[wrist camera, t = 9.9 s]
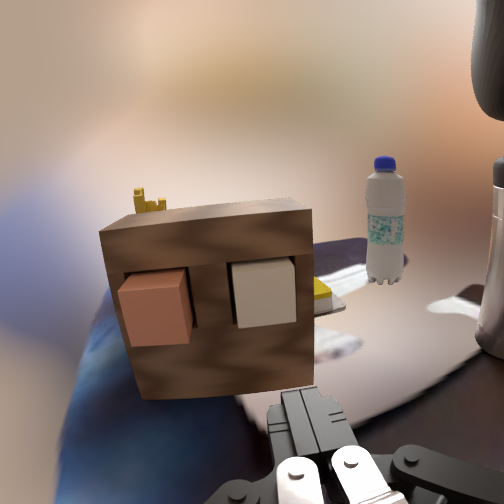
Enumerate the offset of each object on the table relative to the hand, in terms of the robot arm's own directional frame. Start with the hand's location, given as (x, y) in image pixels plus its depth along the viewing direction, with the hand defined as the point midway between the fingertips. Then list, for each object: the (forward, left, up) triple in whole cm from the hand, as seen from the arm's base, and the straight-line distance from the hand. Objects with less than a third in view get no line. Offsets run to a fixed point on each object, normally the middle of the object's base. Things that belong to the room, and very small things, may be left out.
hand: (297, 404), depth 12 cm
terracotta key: (+8, -12, -2) cm, 14 cm away
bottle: (-22, -35, -10) cm, 43 cm away
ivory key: (0, -13, -2) cm, 14 cm away
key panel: (+4, -17, -10) cm, 20 cm away
